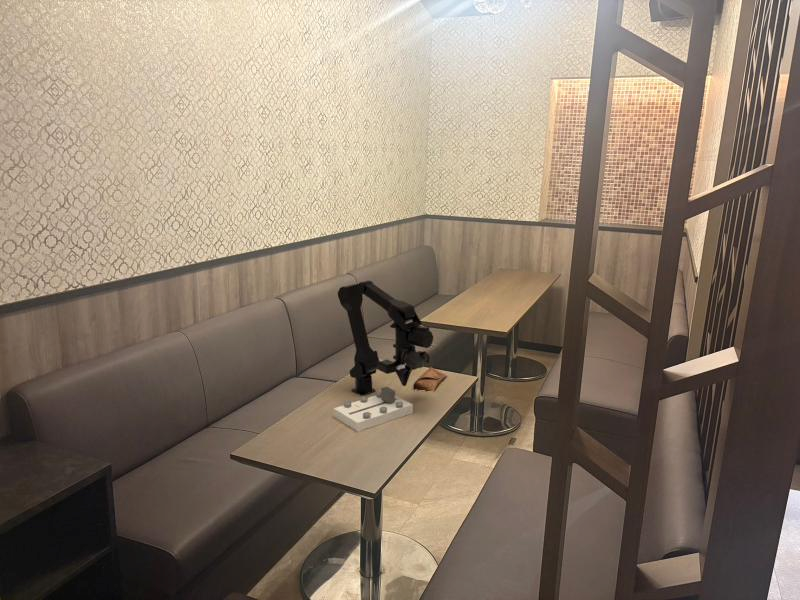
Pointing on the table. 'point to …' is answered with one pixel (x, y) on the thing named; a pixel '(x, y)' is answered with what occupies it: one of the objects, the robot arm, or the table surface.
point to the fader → (387, 395)
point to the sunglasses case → (429, 380)
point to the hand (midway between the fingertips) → (404, 385)
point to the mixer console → (371, 411)
